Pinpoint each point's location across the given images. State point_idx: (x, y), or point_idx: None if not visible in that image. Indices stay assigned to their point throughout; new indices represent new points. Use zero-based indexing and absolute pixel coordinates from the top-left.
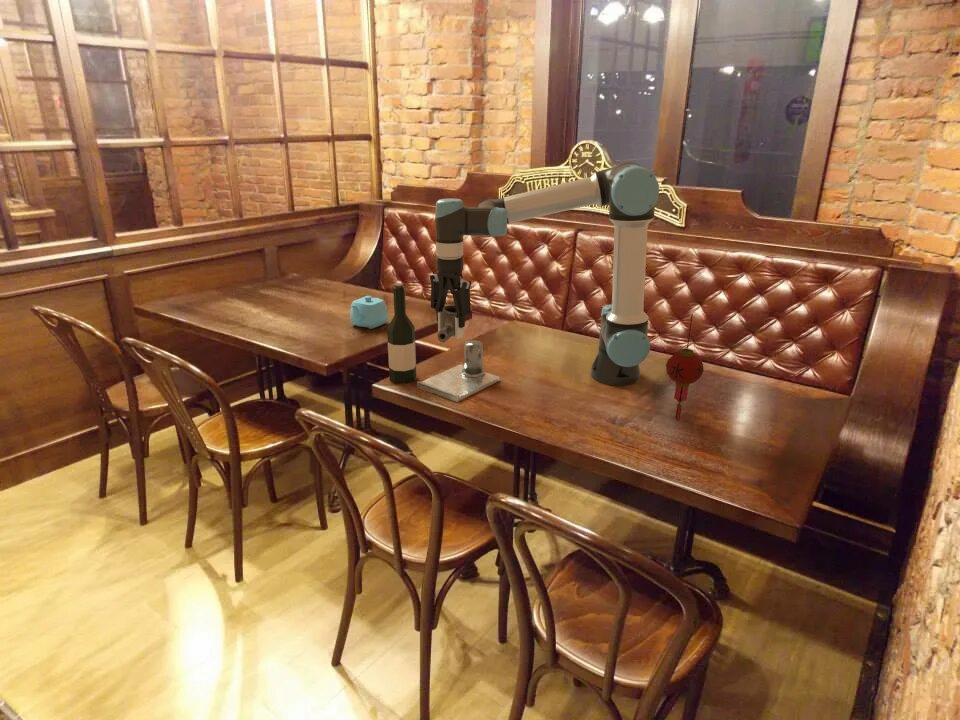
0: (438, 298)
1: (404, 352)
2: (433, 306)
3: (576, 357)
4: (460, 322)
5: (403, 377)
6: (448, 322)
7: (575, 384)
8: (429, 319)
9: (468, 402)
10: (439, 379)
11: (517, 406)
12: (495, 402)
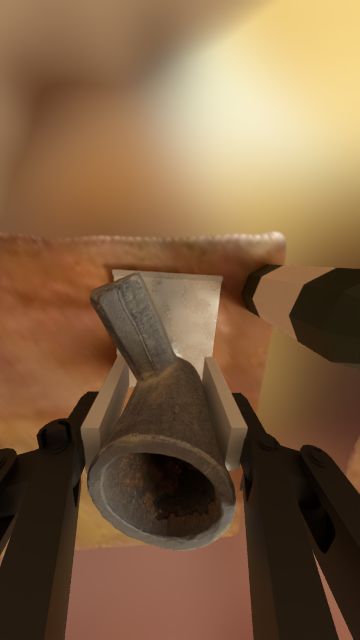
0: (309, 581)
1: (287, 283)
2: (306, 460)
3: (87, 500)
4: (80, 413)
5: (257, 274)
6: (150, 388)
7: (18, 435)
8: (355, 486)
9: (99, 281)
10: (197, 317)
11: (21, 320)
12: (62, 310)
